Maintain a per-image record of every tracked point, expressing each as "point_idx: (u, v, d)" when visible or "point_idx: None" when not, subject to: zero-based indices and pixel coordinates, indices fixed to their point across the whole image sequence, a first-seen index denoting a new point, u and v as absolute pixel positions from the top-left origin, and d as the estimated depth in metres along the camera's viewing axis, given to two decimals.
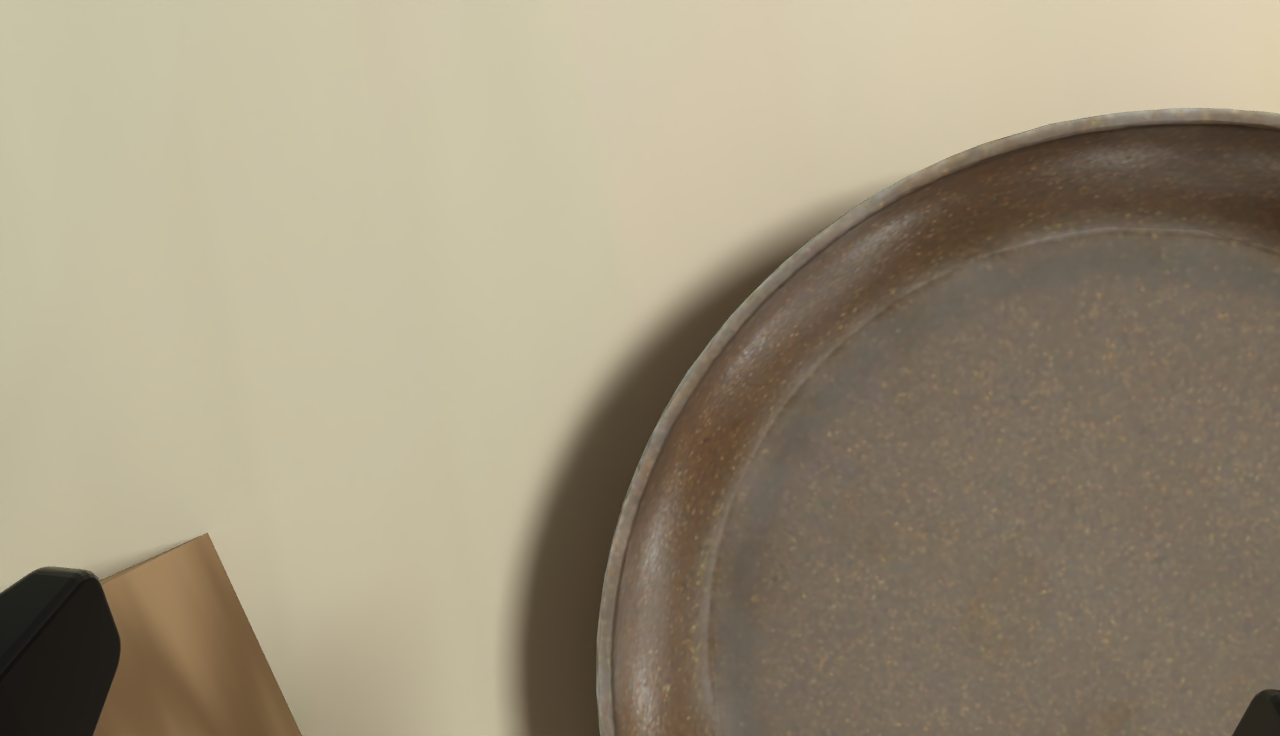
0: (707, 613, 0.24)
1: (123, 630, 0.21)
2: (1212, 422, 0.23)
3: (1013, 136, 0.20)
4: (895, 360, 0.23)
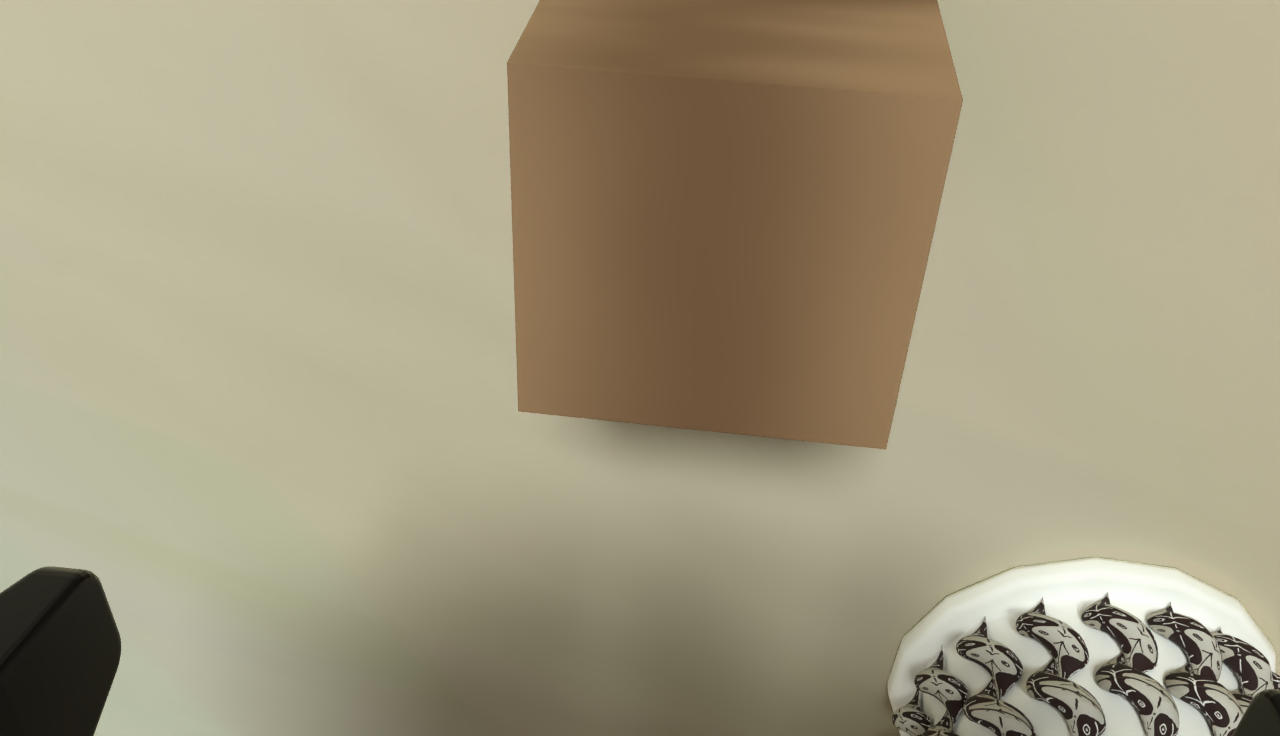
0: None
1: (606, 15, 0.14)
2: None
3: None
4: None
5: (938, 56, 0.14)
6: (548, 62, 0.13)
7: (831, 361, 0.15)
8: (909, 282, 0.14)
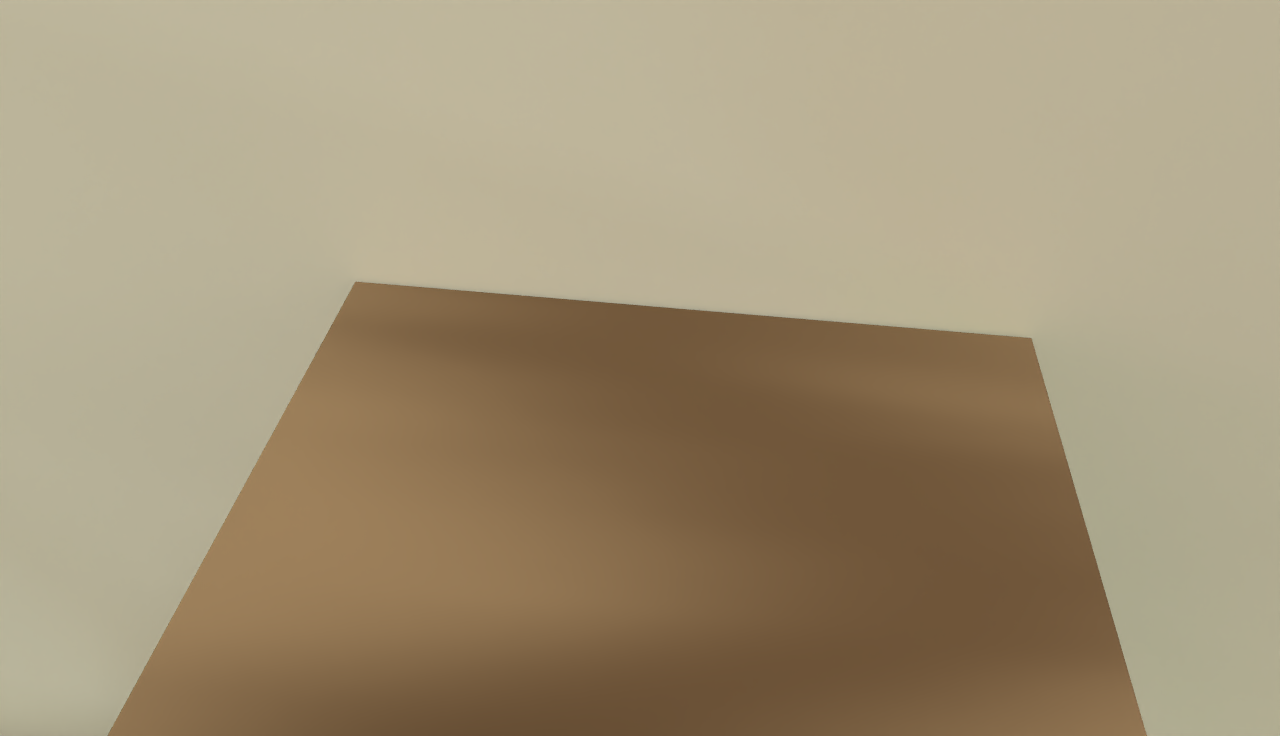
0: None
1: None
2: None
3: None
4: None
5: None
6: None
7: None
8: None
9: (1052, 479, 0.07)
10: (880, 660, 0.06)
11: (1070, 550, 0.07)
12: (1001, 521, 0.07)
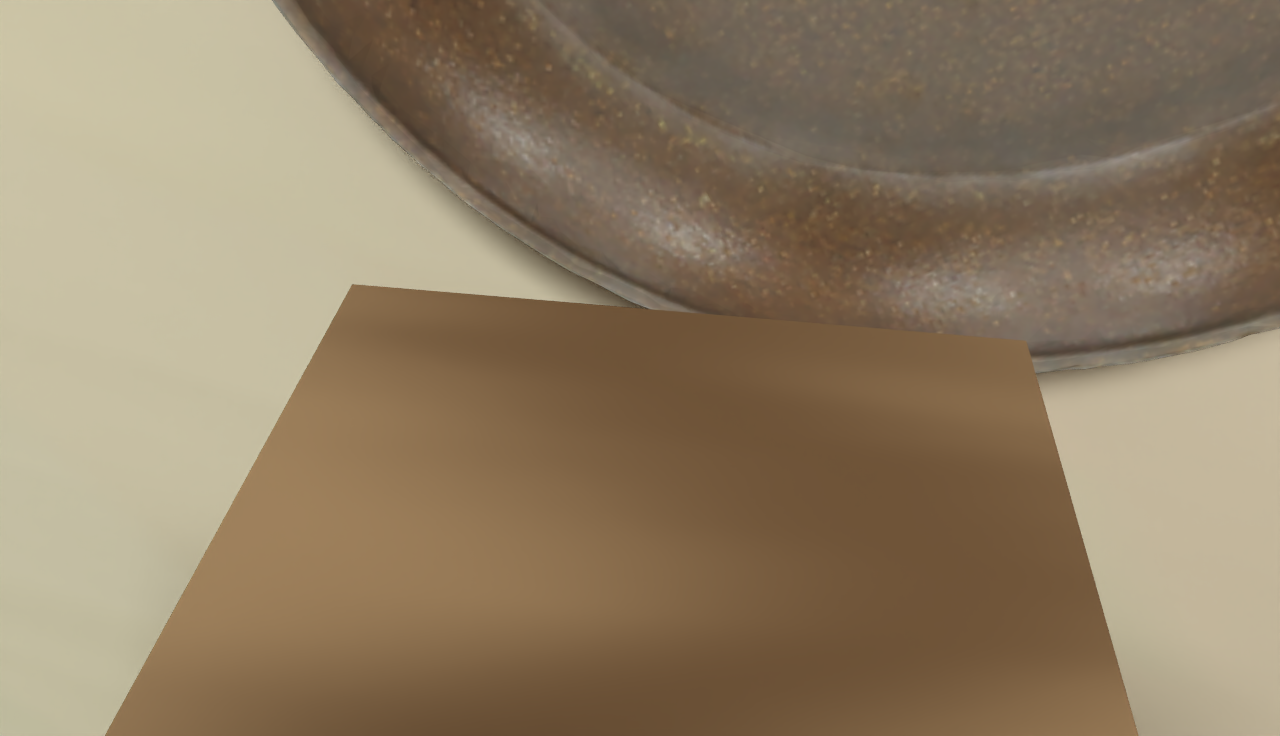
0: (657, 97, 0.18)
1: None
2: None
3: None
4: None
5: None
6: None
7: None
8: None
9: (1047, 481, 0.07)
10: (876, 663, 0.06)
11: (1064, 552, 0.07)
12: (995, 523, 0.07)
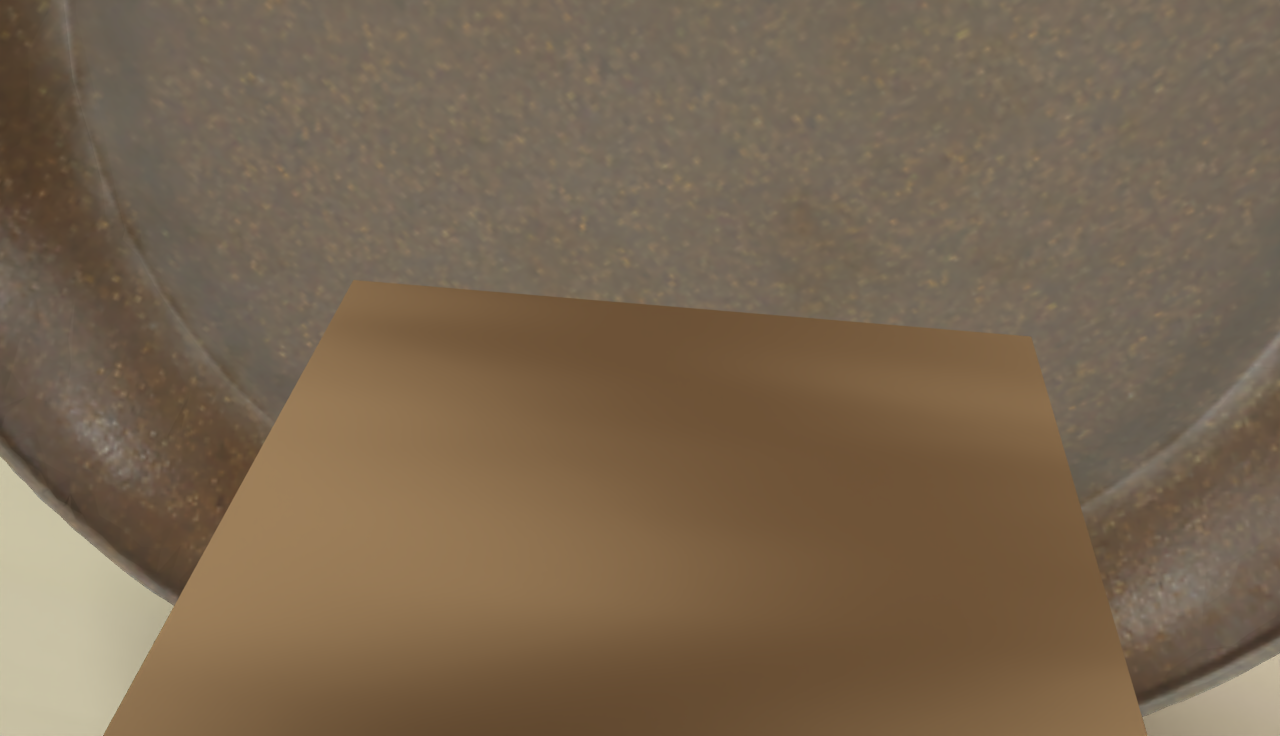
0: None
1: None
2: None
3: None
4: (206, 252, 0.17)
5: None
6: None
7: None
8: None
9: (1052, 477, 0.07)
10: (879, 659, 0.06)
11: (1070, 548, 0.07)
12: (1001, 519, 0.07)
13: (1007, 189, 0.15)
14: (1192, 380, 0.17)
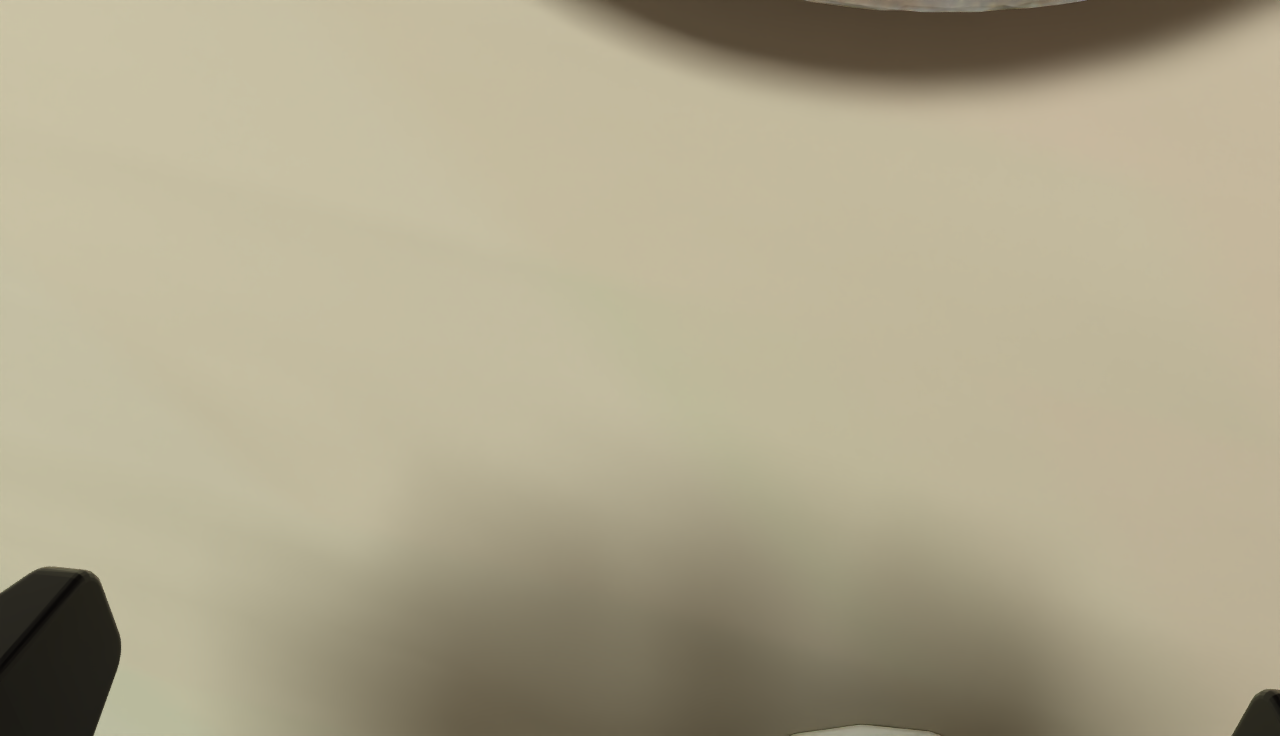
0: None
1: None
2: None
3: None
4: None
5: None
6: None
7: None
8: None
9: None
10: None
11: None
12: None
13: None
14: None
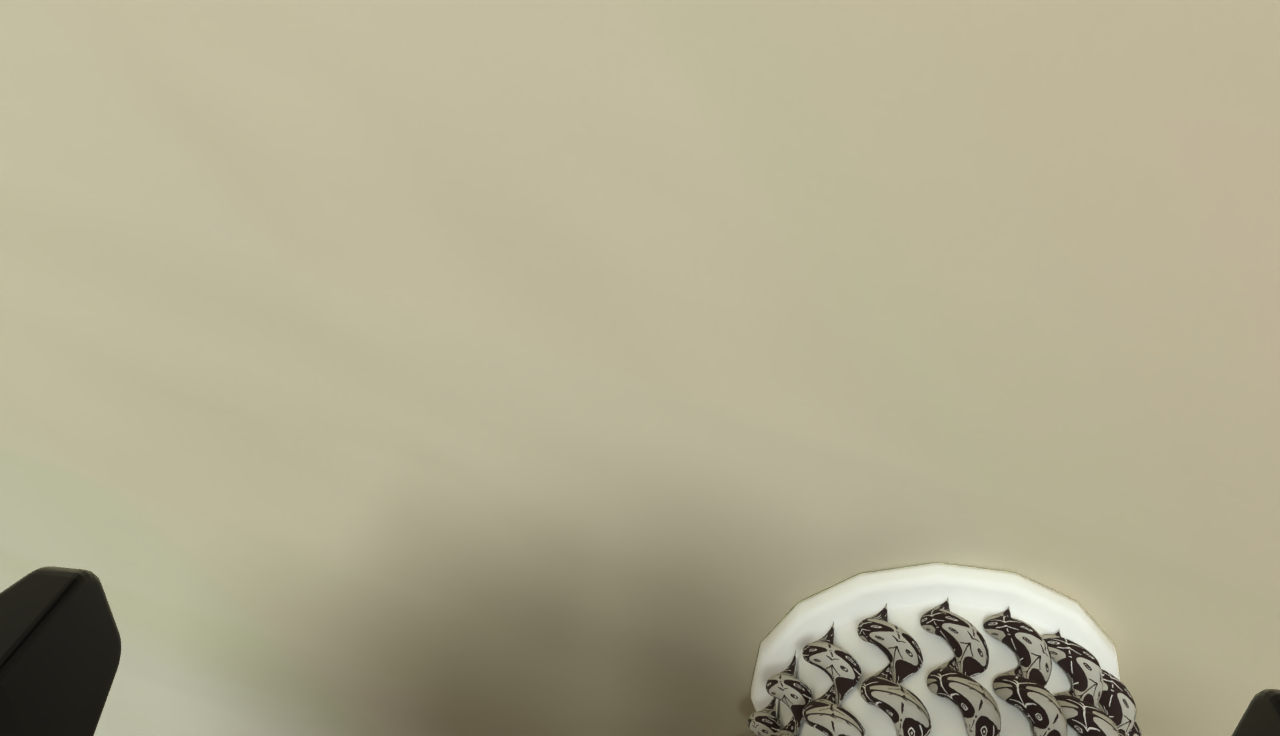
0: None
1: None
2: None
3: None
4: None
5: None
6: None
7: None
8: None
9: None
10: None
11: None
12: None
13: None
14: None
